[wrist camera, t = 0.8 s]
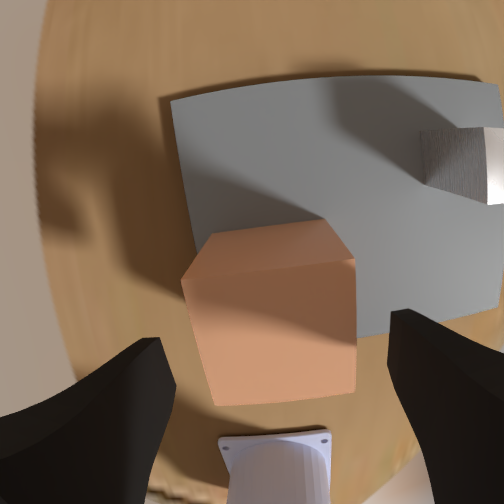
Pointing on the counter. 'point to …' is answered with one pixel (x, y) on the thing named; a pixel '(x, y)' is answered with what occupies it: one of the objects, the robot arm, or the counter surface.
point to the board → (351, 182)
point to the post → (465, 162)
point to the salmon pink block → (274, 313)
